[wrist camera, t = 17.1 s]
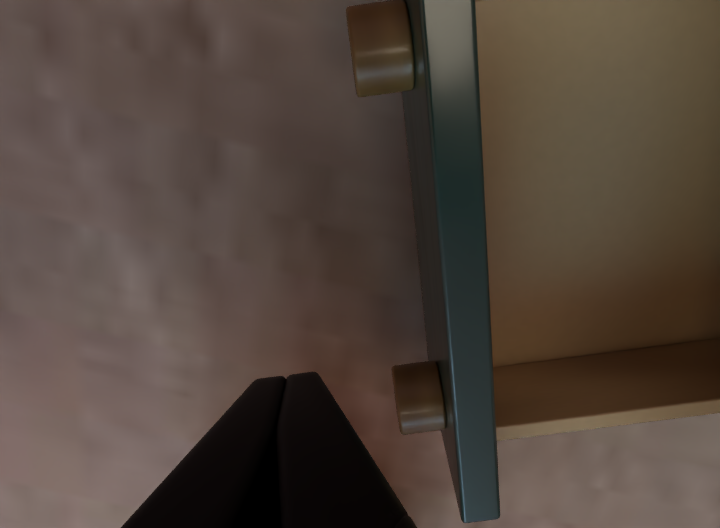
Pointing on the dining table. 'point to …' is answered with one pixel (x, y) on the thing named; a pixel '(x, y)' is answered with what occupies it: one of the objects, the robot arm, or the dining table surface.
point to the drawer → (554, 215)
